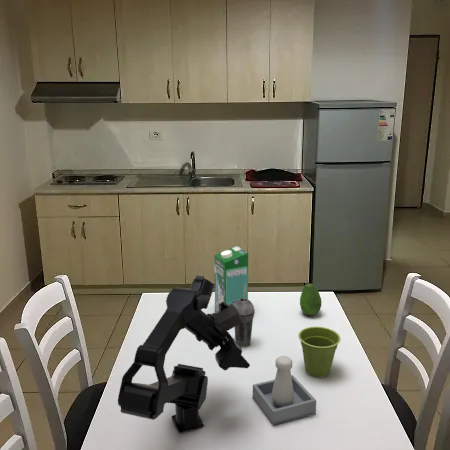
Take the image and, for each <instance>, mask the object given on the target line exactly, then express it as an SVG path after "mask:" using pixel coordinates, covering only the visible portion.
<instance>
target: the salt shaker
mask: <svg viewBox="0 0 450 450" xmlns="http://www.w3.org/2000/svg"><path fill="white" fill-rule="evenodd" d="M293 364H294V363H293V360H292V359H291V357H289V356H287V355H279V356H278V357H277V358H276V359H275V368H276V373H275V377H274V380H275V381H274V386H273V390H272V398H273V400H274V402H275V405H276V406H277V407H280V408H281V407H285V406H289V405H290V404H291V403H292V401H293V400H294V390H293V384H292V377H291V375H292V372H291V370H292V369H293Z"/></svg>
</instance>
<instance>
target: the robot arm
mask: <svg viewBox="0 0 450 450" xmlns="http://www.w3.org/2000/svg"><path fill="white" fill-rule="evenodd" d="M214 290H215V283H212V281H210V280H208V279H206V278H205V276H204V275H196V276H195V278H194V279H192V282H191V285H190V287H189V288H185V287H184V288H183V287H173V288H172V289H171V290H170V292H168V295H167V296H166V300H165V303H166V310H165V311H164V312H163V314H162V316H160V319H159V320H158V322H157V323H156V324H155V326H154V327H153V329H152V331H151V332H150V334H149V335H148V336H147V338H146V339H145V340H144V342H143V343H142V344H139V346H138V347H137V348H136V351H135V355H134V359H133V363H132V364H131V365H130V367H129V368H128V369H127V370H126V372H125V373H124V374H123V376H122V377H121V383H120V388H119V391H118V395H117V396H118V397H117V405H118V406H119V407H120V412H121V414H125V415H130V416H133V417H134V416H135V417H137V418H143V419H147V420H153V421H155V420H157V418H158V417H159V416H161V415H162V414H163V413H164V407H165V404H173V405H174V404H175V405H174V406H175V414H172V415H171V420H172V422H173V424H174V427H175V428H176V429H175V430H176V431H177V433H178V434H182V433H185V432H188V431H189V432H190V431H193V430H196V429H197V430H198V429H201V428H204V422H203V420H202V418H201V417H200V409H201V408H202V406H203V404H204V403H205V401H206V399H207V391H208V385H209V384H208V382H209V381H208V380H209V379H208V375H206V371H205V370H204V368H203V367H199V366H195V365H194V366H193V365H189V364H187V365H186V364H181V363H178V364H177V365H173V370H172V374H171V376H168V377H167V375H166V372H165V367H164V366H165V362H166V361H165V360H166V355H167V353H168V351H170V349H171V346H172V345H173V343H174V341H175V339H176V338H177V336H178V335H179V333H180V332H181V330H184V329H185V330H187V331H188V332H190V333H191V334H192V335H193V336H195V339H196V340H197V341H198V342H203V343H204V344H205V345H206V346H207V347H208V349H209V350H210V351H213V350H214V349H215V348H218V347H219V349H218V351H216V353H214V355H215V356H214V357H215V361H216V363H217V365H218V367H219V368H220V369H222V370H223V371H227V370H229V368H238V369H239V368H240V369H248V368H249V367H250V366H251V364H250V363H249V361H248V360H247V359H246V358H245V357H244V356H243V355H242V353H243V348H242V347H240V346H239V344H237V343H236V339H235V338H234V337H232V335H231V334H230V333H229V330H230V331H231V330H232V329H233V328H235V326H237V325H240V324H241V323H242V322H243V320H242V318H241V316H240V314H239V313H238V311H237V309H236V308H235V306H234V305H231V304H230V306H229V304H227V303H225V302H224V301H223V302H221V303H220V304H219V311H217V313H215V312H214V313H206V312H204V311H202V310H203V309H205V310H206V309H208V306H209V304H210V301H211V297H212V295H213V292H214ZM143 366H145V367H152V368H154V372H155V375H156V378H157V381H155V382H152V383H149V384H147V383H141V382H140V383H139V382H133V378H134V377H135V376H136V374H137V373H138V372H139V371H140V369H141V368H142V367H143Z"/></svg>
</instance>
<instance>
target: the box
mask: <svg viewBox="0 0 450 450" xmlns="http://www.w3.org/2000/svg"><path fill="white" fill-rule="evenodd" d="M291 377H292V384H293V390H294V400H293V401H292V403H291V404H290V405H289V406H285V407H281V408H280V407H277V406H276V405H275V402H274V400H273V398H272V390H273V386H274V381H275V379H271V380H268V381H267V380H266V381H263V382H258V383H255V384H254V383H253V384H252V400H254V402H255V403H256V405H257V406H258V408H259V409H260V410H261V411H262V413H263V415H264V416H265V417H266V418H267V420H268V421H269V422H270V423H271V425H272V427H274V426H279V425H281V424H282V425H283V424H285V423H290V422H293V421H295V420H299V419H303V418H306V417H311V416H314V415H316V414H317V413H316V412H317V399H316V398H315V397H314V396H313V395H312V394H311V393H310V392H309V391H308V389H306V388H305V386H304V385H303V384H302V383H300V381H299V380H298V379H297V378H296V377H295V376H294V374H293V375H292V374H291Z"/></svg>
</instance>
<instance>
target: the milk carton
mask: <svg viewBox="0 0 450 450" xmlns="http://www.w3.org/2000/svg"><path fill="white" fill-rule="evenodd" d="M213 260H214V264H213V265H214V313H217V311H219V304H220V303H221V302H223V301H224V302H225V303H227V304H229V306H230V304H231V305H234V303H235V302H236V301H237V300H239V299H242V298H244V285H246V292H245V299H248V300H249V252H247V251H246V250H244V249H243V248H242V247H239V246H238V245H235V246H233V247H231V248H228V249H226V250H223V251H221V252H218V253H216V254H214V259H213Z"/></svg>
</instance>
